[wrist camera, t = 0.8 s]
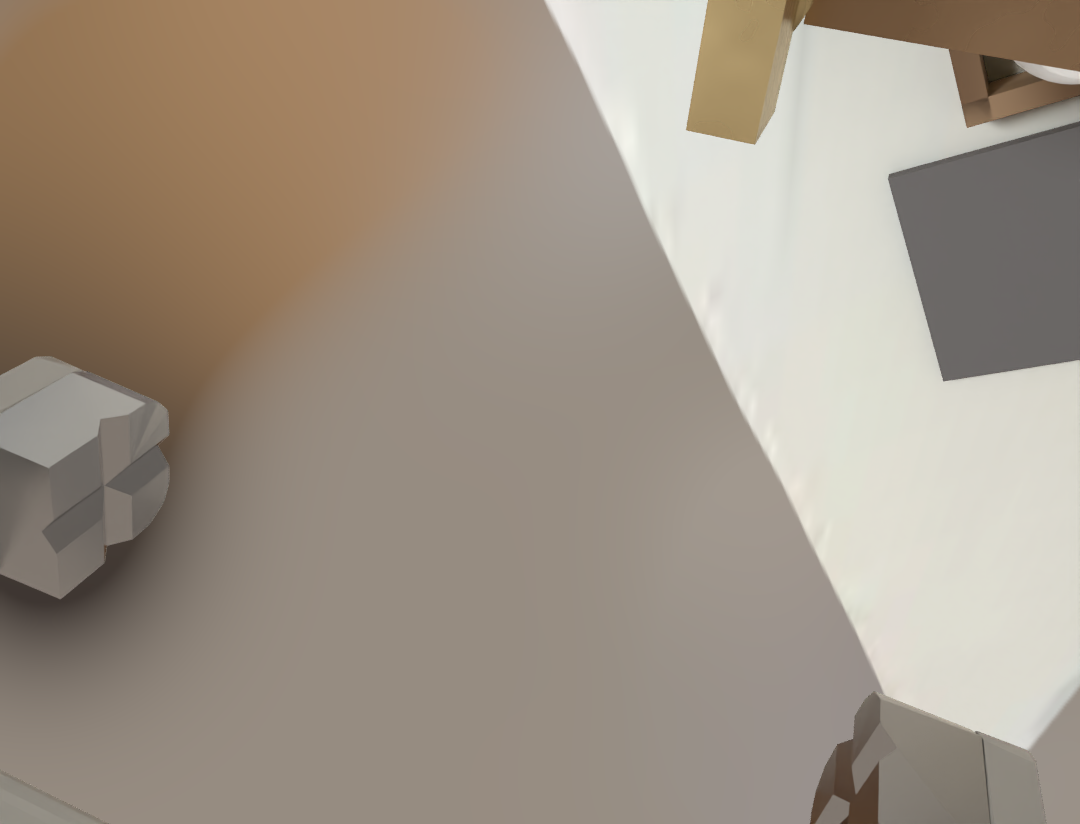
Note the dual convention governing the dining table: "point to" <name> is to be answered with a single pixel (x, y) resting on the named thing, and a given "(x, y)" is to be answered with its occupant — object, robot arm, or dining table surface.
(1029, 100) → the cup collar
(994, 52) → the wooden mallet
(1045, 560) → the dining table surface
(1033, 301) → the rubber mat
